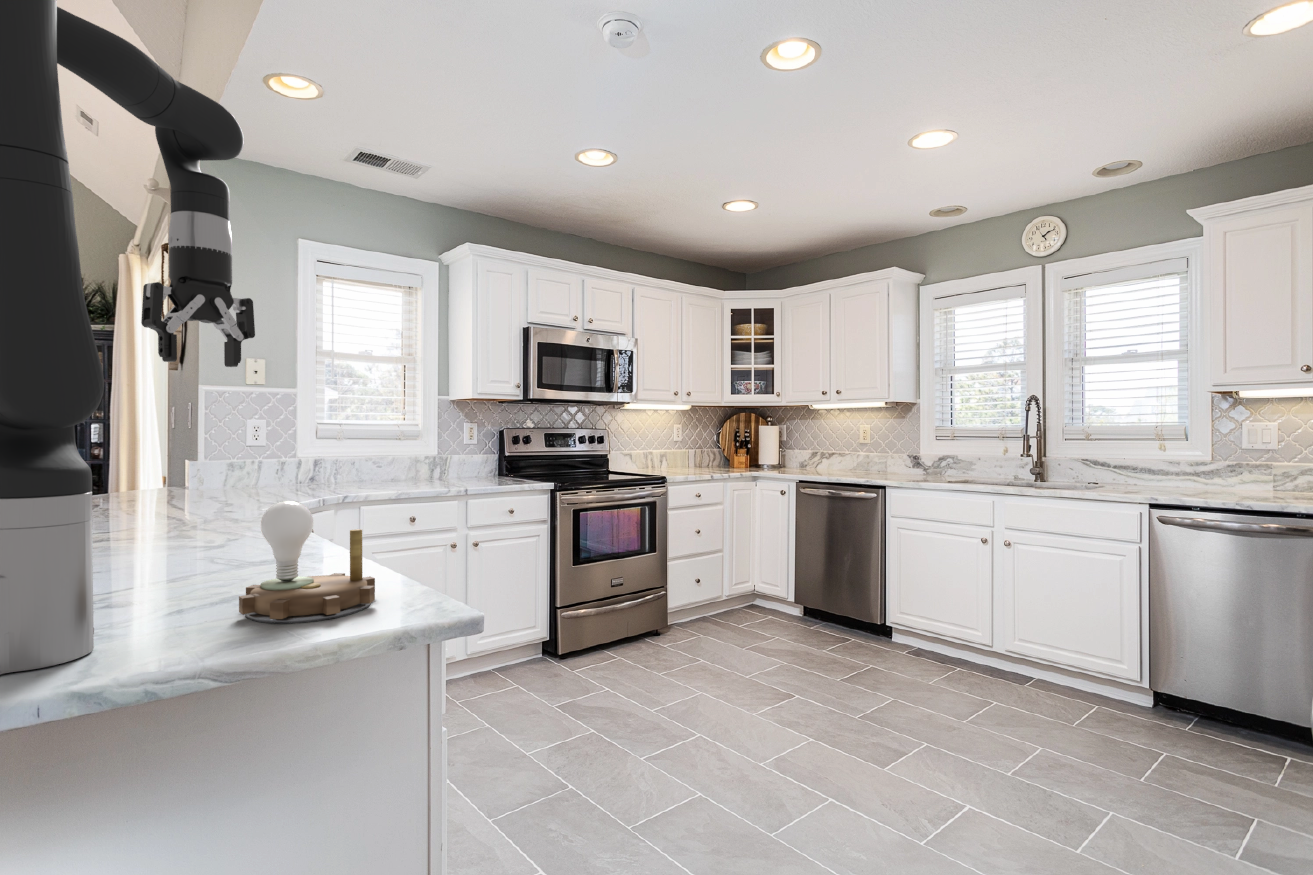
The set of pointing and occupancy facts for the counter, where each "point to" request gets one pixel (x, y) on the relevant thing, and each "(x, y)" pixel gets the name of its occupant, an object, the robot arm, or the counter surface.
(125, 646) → the counter surface
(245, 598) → the sprocket
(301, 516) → the lightbulb
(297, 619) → the plate
